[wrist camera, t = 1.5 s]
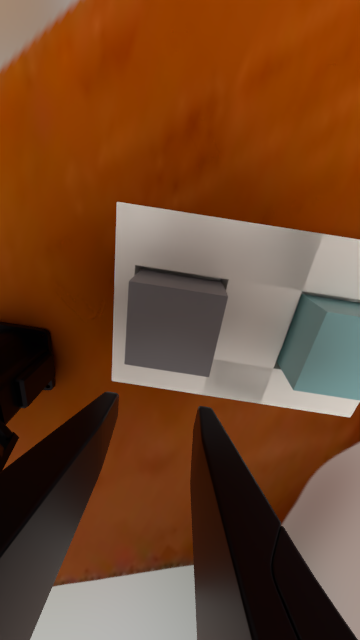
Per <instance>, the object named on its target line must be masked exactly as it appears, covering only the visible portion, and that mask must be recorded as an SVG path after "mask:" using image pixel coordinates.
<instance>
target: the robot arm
mask: <svg viewBox="0 0 360 640" xmlns="http://www.w3.org/2000/svg"><path fill="white" fill-rule="evenodd" d="M42 334H44V336H43V335H42ZM54 377H55V370H54V359H53V354H52V349H51V339H50V333H49V331H48V330H46V329H42V328H35V327H29V326H22V325H16V324H9V323H3V322H0V640H30V638H31V636H32V633H33V631H34V629H35V626H36V624H37V621H38V619H39V617H40V614H41V612H42V610H43V607H44V605H45V603H46V600H47V598H48V595H49V593H50V591H51V588H52V586H53V584H54V581H55V579H56V576H57V574H58V572H59V569H60V567H61V565H62V562H63V560H64V557H65V555H66V553H67V550H68V548H69V546H70V543H71V541H72V538H73V536H74V534H75V531H76V529H77V527H78V524H79V522H80V519H81V517H82V515H83V512H84V510H85V508H86V505H87V503H88V500H89V498H90V496H91V493H92V491H93V489H94V486H95V484H96V481H97V479H98V477H99V474H100V471H101V469H102V466H103V463H104V460H105V456H106V453H107V450H108V447H109V443H110V440H111V437H112V433H113V430H114V427H115V423H116V420H117V416H118V402H119V395H118V394H117V393H113V392H104V393H103V394H102V395H100V396H99V397H98V398H96V399H95V400H94V401H93V402H91V403H90V404H89V405H87V406H86V407H85V408H83V409H82V410H81V411H80V412H78V413H77V414H76V415H74V416H73V417H72V418H70V419H69V420H68V421H66V422H65V423H64V424H63V425H61V426H60V427H59V428H57V429H56V430H55V431H53V432H52V433H51V434H49V435H48V436H47V437H46V438H44V439H43V440H42V441H40V442H39V443H38V444H36V445H35V446H34V447H32V448H31V449H30V450H29V451H27V452H26V453H25V454H23V455H22V456H21V457H19V458H18V459H17V460H15V461H14V462H13V463H12V464H10V465H9V466H8V467H6V468H5V469H4V470H3V468H4V466H5V464H6V462H7V460H8V458H9V456H10V454H11V452H12V450H13V448H14V446H15V444H16V442H17V440H18V439H19V437H18V436H17V435H16V434H15V433H14V432H13V433H12V432H11V430H10V429H9V428H8V427H7V426H6V424H7V423H8V422H9V420H10V419H11V418H12V417H13V416H14V415H15V414H16V413H17V412H18V411H19V410H20V409H21V408H26V407H28V406H29V405H30V404H31V403H32V401H33V400H34V399H35V398H36V397H37V396H38V395H39V394H40V392H41V391H42V390H52V388H53V387H54V386H55V380H54ZM190 486H191V511H192V534H193V556H194V577H195V599H196V621H197V640H358V639H357V638H356V637H355V635H354V634H353V632H352V631H351V629H350V628H349V627H348V625H347V624H346V622H345V621H344V619H343V618H342V616H341V615H340V614H339V612H338V611H337V609H336V608H335V606H334V605H333V603H332V602H331V600H330V599H329V597H328V596H327V594H326V593H325V591H324V590H323V589H322V587H321V586H320V584H319V583H318V581H317V580H316V578H315V577H314V575H313V574H312V572H311V570H310V569H309V567H308V566H307V564H306V563H305V561H304V559H303V558H302V556H301V554H300V553H299V551H298V550H297V548H296V547H295V545H294V543H293V542H292V540H291V538H290V537H289V535H288V533H287V532H286V531H285V528H284V527H283V526H281V522H280V520H279V519H278V517H277V515H276V514H275V512H274V510H273V509H272V507H271V505H270V504H269V502H268V500H267V499H266V497H265V496H264V494H263V492H262V491H261V489H260V487H259V486H258V484H257V482H256V481H255V479H254V477H253V476H252V474H251V472H250V471H249V469H248V467H247V466H246V464H245V462H244V461H243V459H242V457H241V456H240V454H239V453H238V451H237V449H236V448H235V446H234V444H233V443H232V441H231V439H230V438H229V436H228V434H227V433H226V431H225V429H224V428H223V426H222V424H221V423H220V421H219V419H218V418H217V416H216V415H215V413H214V411H213V410H212V408H210V407H203V406H200V407H198V410H197V414H196V419H195V423H194V429H193V444H192V460H191V480H190ZM280 526H281V527H280Z"/></svg>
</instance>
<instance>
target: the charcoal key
mask: <svg viewBox="0 0 360 640" xmlns="http://www.w3.org/2000/svg"><path fill="white" fill-rule="evenodd" d="M227 300H228V295H227V293H226V290H225V288H224V286H223V283H222V282H221V281H215V280H208V279H202V278H196V277H189V276H183V275H176V274H170V273H163V272H157V271H150V270H144V269H141V270H140V271H139V272H138V273H137V274H136V275H135V276H134V277H133V278H132V279H130V280H129V287H128V306H127V324H126V343H125V362H124V364H126V365H132V366H139V367H145V368H152V369H158V370H165V371H171V372H178V373H184V374H191V375H197V376H204V377H209V375H210V371H211V367H212V362H213V358H214V354H215V350H216V346H217V341H218V337H219V333H220V329H221V325H222V320H223V316H224V312H225V308H226V304H227Z"/></svg>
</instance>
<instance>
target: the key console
mask: <svg viewBox="0 0 360 640" xmlns="http://www.w3.org/2000/svg"><path fill="white" fill-rule="evenodd" d="M141 269H144V270H150V271H157V272H163V273H170V274H176V275H183V276H189V277H196V278H202V279H208V280H215V281H221V282H222V283H223V286H224V288H225V290H226V293H227V295H228V300H227V304H226V308H225V312H224V316H223V320H222V325H221V329H220V333H219V337H218V341H217V346H216V350H215V354H214V358H213V362H212V367H211V371H210V375H209V377H204V376H197V375H191V374H184V373H178V372H171V371H165V370H158V369H152V368H145V367H139V366H132V365H126V364H124V362H125V343H126V324H127V306H128V287H129V280H130V279H132V278H133V277H134V276H135V275H136V274H137V273H138V272H139V271H140V270H141ZM302 294H305V295H311V296H318V297H324V298H331V299H337V300H344V301H350V302H356V303H360V240H359V239H352V238H346V237H340V236H333V235H327V234H320V233H314V232H308V231H301V230H295V229H288V228H282V227H276V226H269V225H263V224H257V223H250V222H244V221H237V220H231V219H225V218H218V217H212V216H205V215H199V214H193V213H186V212H180V211H173V210H167V209H161V208H154V207H148V206H141V205H135V204H129V203H122V202H117V208H116V244H115V279H114V315H113V351H112V381H116V382H123V383H129V384H136V385H142V386H149V387H155V388H162V389H168V390H175V391H181V392H188V393H194V394H201V395H207V396H214V397H220V398H227V399H233V400H240V401H246V402H253V403H259V404H266V405H272V406H279V407H285V408H292V409H298V410H305V411H311V412H318V413H324V414H331V415H337V416H344V417H351V415H352V414H353V412H354V410H355V409H356V407H357V405H358V404H359V402H360V400H353V399H347V398H340V397H334V396H327V395H321V394H314V393H308V392H301V391H295V390H293V389H292V387H291V385H290V384H289V382H288V380H287V378H286V377H285V375H284V373H283V372H282V370H281V368H280V366H279V365H278V363H277V359H278V357H279V354H280V351H281V349H282V346H283V343H284V341H285V338H286V335H287V332H288V330H289V327H290V324H291V322H292V319H293V316H294V314H295V311H296V308H297V306H298V303H299V300H300V298H301V295H302Z"/></svg>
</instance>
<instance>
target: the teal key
mask: <svg viewBox="0 0 360 640" xmlns="http://www.w3.org/2000/svg"><path fill="white" fill-rule="evenodd" d="M277 363H278V365H279V366H280V368H281V370H282V372H283V373H284V375H285V377H286V378H287V380H288V382H289V384H290V385H291V387H292V389H293V390H295V391H301V392H308V393H314V394H321V395H327V396H334V397H340V398H347V399H353V400H360V303H356V302H350V301H344V300H337V299H331V298H324V297H318V296H311V295H305V294H302V295H301V298H300V300H299V303H298V306H297V308H296V311H295V314H294V316H293V319H292V322H291V324H290V327H289V330H288V332H287V335H286V338H285V341H284V343H283V346H282V349H281V351H280V354H279V357H278V359H277Z"/></svg>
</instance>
